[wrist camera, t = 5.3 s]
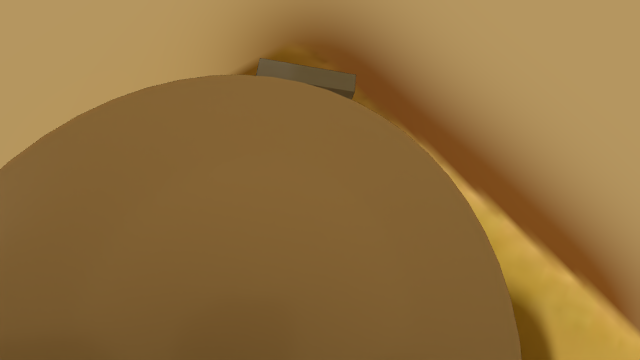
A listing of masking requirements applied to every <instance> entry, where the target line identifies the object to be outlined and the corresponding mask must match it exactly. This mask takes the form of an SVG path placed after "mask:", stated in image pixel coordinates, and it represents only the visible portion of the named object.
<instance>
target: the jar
mask: <svg viewBox="0 0 640 360" xmlns="http://www.w3.org/2000/svg"><path fill="white" fill-rule="evenodd" d="M0 360H522V356H521V348H520V339H519V334H518V329H517V325H516V320H515V316H514V311H513V306H512V302H511V298H510V295H509V292H508V289H507V286H506V283H505V280H504V277H503V274H502V270H501V267H500V264H499V262H498V260H497V257H496V255H495V253H494V251H493V248H492V246H491V244H490V242H489V240H488V237H487V235H486V233H485V231H484V229H483V227H482V225H481V224H480V222H479V220H478V219H477V217H476V215H475V213H474V212H473V210H472V208H471V206H470V205H469V203H468V201H467V200H466V199H465V197H464V196H463V195H462V193H461V192H460V190H459V189H458V188H457V186H456V185H455V184H454V182H453V181H452V179H451V178H450V177H449V175H448V174H447V173H446V172H445V171H444V170H443V169H442V168H441V167H440V166H439V164H438V163H437V162H436V161H435V160H434V159H433V158H432V157H431V156H430V155H429V153H428V152H426V151H425V150H424V149H423V148H422V147H421V146H420V145H419V144H417V143H416V142H415V141H414V140H413V139H412V138H411V137H410V136H408V135H407V134H406V133H405V132H403V131H402V130H401V129H399V128H398V127H396V126H395V125H394V124H392V123H391V122H389V121H388V120H387V119H385V118H384V117H382V116H381V115H379V114H377V113H375V112H374V111H372V110H370V109H368V108H366V107H365V106H363V105H361V104H359V103H357V102H355V101H353V100H351V99H348V98H346V97H344V96H341V95H339V94H336V93H334V92H332V91H329V90H326V89H322V88H319V87H316V86H312V85H309V84H306V83H302V82H297V81H292V80H286V79H281V78H276V77H267V76H253V75H216V76H205V77H197V78H190V79H183V80H177V81H173V82H169V83H165V84H161V85H156V86H152V87H148V88H144V89H142V90H139V91H136V92H133V93H130V94H127V95H125V96H121V97H119V98H116V99H113V100H111V101H109V102H106V103H104V104H102V105H100V106H98V107H96V108H93V109H91V110H89V111H87V112H85V113H83V114H81V115H78V116H77V117H75V118H74V119H72V120H70V121H68V122H67V123H65V124H63V125H62V126H60V127H58V128H56V129H55V130H53V131H51V132H50V133H48V134H46V135H45V136H43V137H42V138H40V139H39V140H38V141H36V142H35V143H33V144H32V145H31V146H30V147H28V148H27V149H25V150H24V151H23V152H21V153H20V154H19V155H17V156H16V157H14V158H13V159H12V160H11V161H9V162H8V163H7V164H6V165H5V166H3V167H2V168H1V169H0Z"/></svg>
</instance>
